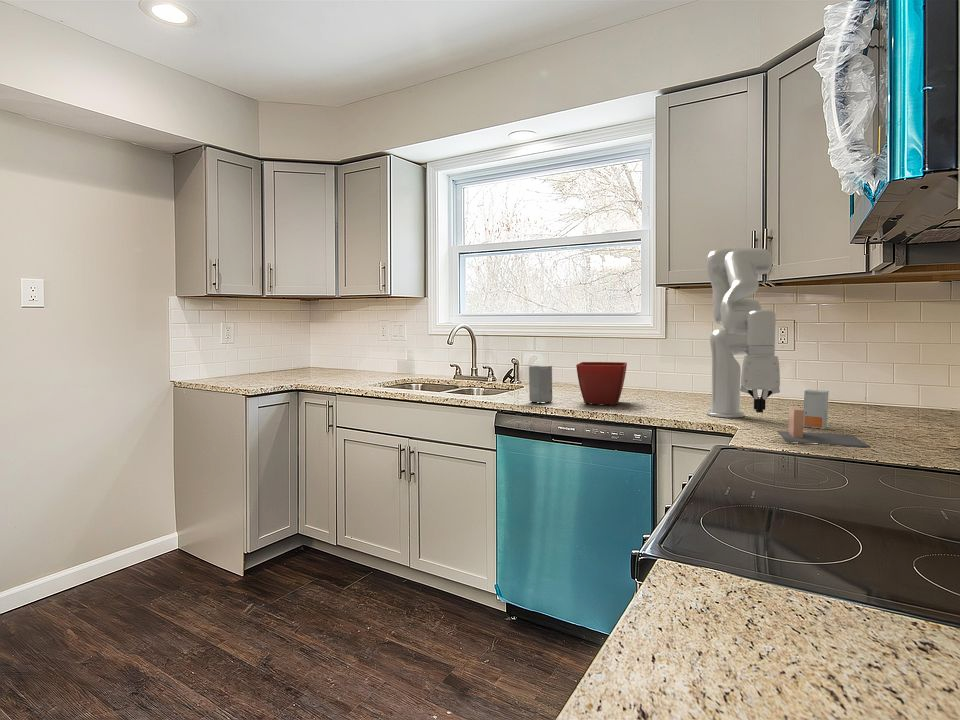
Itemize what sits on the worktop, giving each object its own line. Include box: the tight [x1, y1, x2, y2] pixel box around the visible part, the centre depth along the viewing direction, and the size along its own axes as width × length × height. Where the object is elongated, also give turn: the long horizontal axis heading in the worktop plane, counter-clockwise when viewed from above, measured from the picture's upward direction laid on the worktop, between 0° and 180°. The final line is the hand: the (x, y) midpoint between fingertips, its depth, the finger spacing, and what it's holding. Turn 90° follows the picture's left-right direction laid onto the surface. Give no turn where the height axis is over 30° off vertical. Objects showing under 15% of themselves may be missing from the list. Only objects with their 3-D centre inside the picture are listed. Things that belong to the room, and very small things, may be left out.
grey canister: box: [528, 365, 553, 403], centre depth 239 cm, size 8×7×16 cm
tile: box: [787, 406, 804, 438], centre depth 167 cm, size 7×2×8 cm, turn 162°
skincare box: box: [803, 389, 830, 430], centre depth 181 cm, size 6×4×12 cm
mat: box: [776, 430, 871, 448], centre depth 163 cm, size 16×20×1 cm
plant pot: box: [575, 361, 628, 406], centre depth 236 cm, size 19×19×17 cm
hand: (759, 411), depth 170 cm, fingers closed
